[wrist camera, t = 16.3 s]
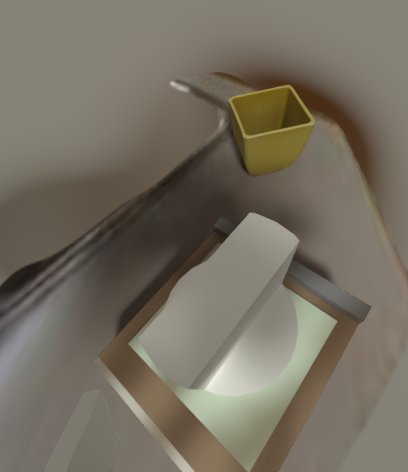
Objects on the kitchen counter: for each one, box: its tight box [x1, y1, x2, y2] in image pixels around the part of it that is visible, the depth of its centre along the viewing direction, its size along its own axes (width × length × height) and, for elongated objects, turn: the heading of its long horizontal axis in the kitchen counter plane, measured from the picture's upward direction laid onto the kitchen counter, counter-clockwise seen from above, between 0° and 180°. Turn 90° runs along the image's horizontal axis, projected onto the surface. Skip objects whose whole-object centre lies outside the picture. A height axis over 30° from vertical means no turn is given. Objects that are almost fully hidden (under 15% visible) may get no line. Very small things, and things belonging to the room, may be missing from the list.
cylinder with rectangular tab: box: [139, 213, 299, 396], centre depth 17 cm, size 9×9×12 cm
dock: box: [93, 217, 371, 472], centre depth 24 cm, size 16×19×6 cm
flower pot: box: [229, 85, 315, 176], centre depth 36 cm, size 9×9×9 cm
